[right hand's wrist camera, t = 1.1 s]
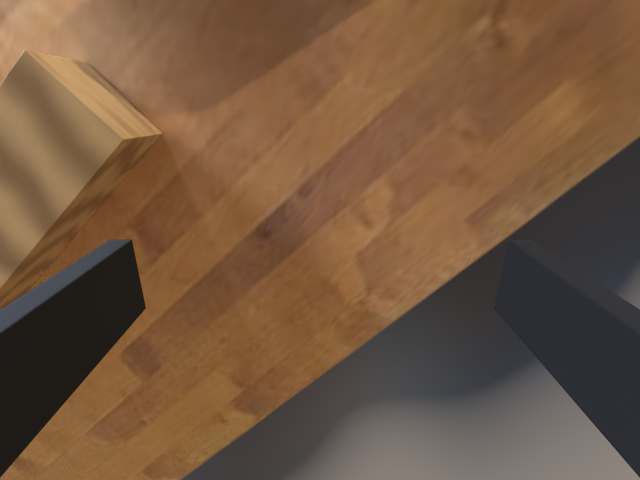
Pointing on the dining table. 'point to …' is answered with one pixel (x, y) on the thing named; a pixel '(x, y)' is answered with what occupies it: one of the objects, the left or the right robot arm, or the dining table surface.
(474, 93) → the dining table surface
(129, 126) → the thick board
